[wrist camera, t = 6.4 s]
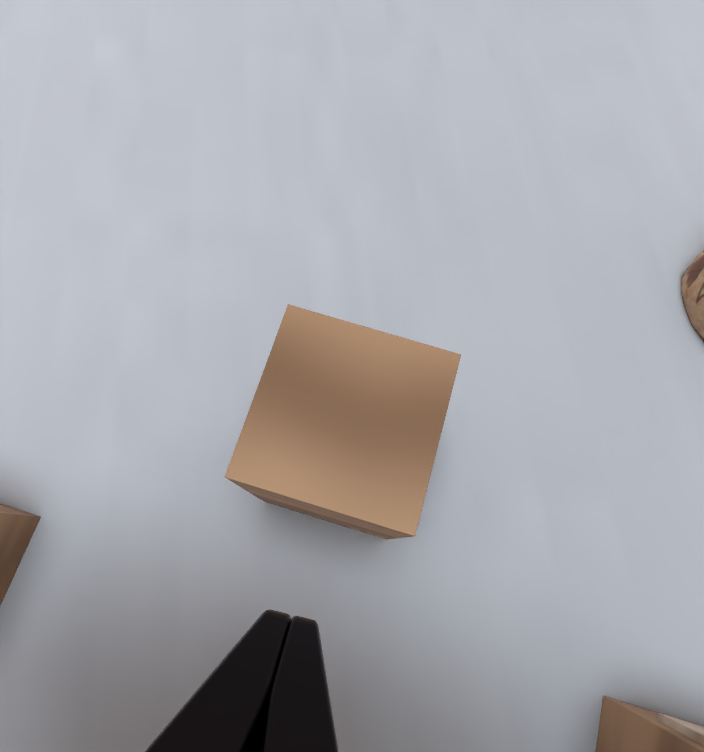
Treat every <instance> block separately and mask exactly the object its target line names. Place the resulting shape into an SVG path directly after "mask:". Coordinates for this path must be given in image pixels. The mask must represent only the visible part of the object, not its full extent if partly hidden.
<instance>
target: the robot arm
mask: <svg viewBox="0 0 704 752" xmlns="http://www.w3.org/2000/svg"><path fill="white" fill-rule="evenodd" d="M145 752H338V747H337V741H336V734H335V728H334V722H333V716H332V709H331V703H330V697H329V691H328V684H327V678H326V672H325V665H324V659H323V653H322V647H321V640H320V634H319V628H318V624H317V622H316V621H314V620H311V619H307V618H303V617H299V616H294V617H293V618H292V619H291V617H290V615H288V614H286V613H282V612H278V611H273V610H266V611H265V612H264V613H263V614H262V615H261V616H260V617H259V618H258V619H257V621H256V622H255V623H254V624H253V625H252V626H251V628H250V629H249V630H248V631H247V632H246V633H245V635H244V636H243V637H242V638H241V639H240V641H239V642H238V643H237V644H236V645H235V646H234V648H233V649H232V650H231V651H230V652H229V653H228V655H227V656H226V657H225V658H224V659H223V661H222V662H221V663H220V664H219V665H218V666H217V668H216V669H215V670H214V671H213V672H212V673H211V675H210V676H209V677H208V678H207V679H206V681H205V682H204V683H203V684H202V685H201V686H200V688H199V689H198V690H197V691H196V692H195V693H194V695H193V696H192V697H191V698H190V699H189V700H188V702H187V703H186V704H185V705H184V706H183V708H182V709H181V710H180V711H179V712H178V713H177V715H176V716H175V717H174V718H173V719H172V720H171V722H170V723H169V724H168V725H167V726H166V728H165V729H164V730H163V731H162V732H161V733H160V735H159V736H158V737H157V738H156V739H155V740H154V742H153V743H152V744H151V745H150V746H149V748H148V749H147V750H146V751H145Z"/></svg>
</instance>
